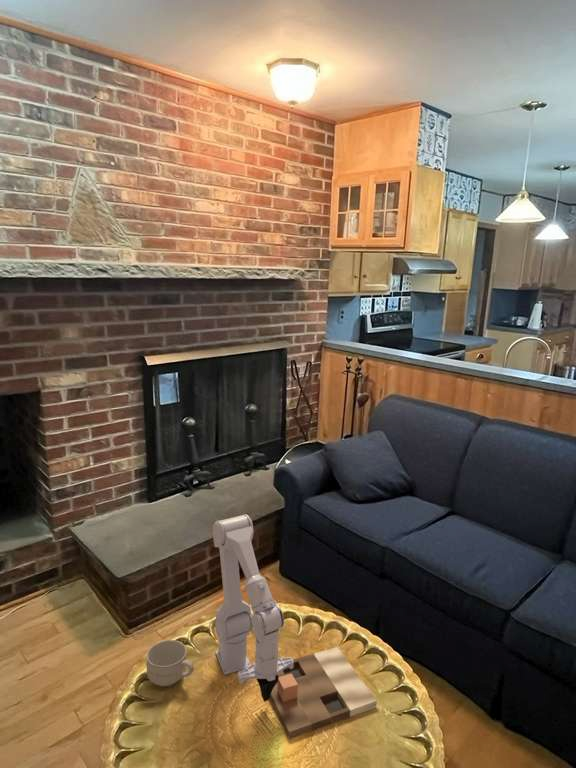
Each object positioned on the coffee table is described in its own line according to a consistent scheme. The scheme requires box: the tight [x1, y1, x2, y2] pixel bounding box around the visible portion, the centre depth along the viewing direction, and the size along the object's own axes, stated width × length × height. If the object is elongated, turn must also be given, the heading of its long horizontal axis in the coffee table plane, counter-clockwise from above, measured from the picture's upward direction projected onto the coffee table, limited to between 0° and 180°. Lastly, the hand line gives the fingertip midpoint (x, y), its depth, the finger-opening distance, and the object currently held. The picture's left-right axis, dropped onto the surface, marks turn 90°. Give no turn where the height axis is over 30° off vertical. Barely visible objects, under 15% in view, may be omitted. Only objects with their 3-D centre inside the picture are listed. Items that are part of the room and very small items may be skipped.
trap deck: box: [269, 646, 378, 740], centre depth 133 cm, size 21×25×2 cm
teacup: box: [145, 639, 195, 687], centre depth 134 cm, size 14×11×8 cm
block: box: [277, 673, 298, 702], centre depth 129 cm, size 4×4×4 cm
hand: (265, 697), depth 126 cm, fingers closed
